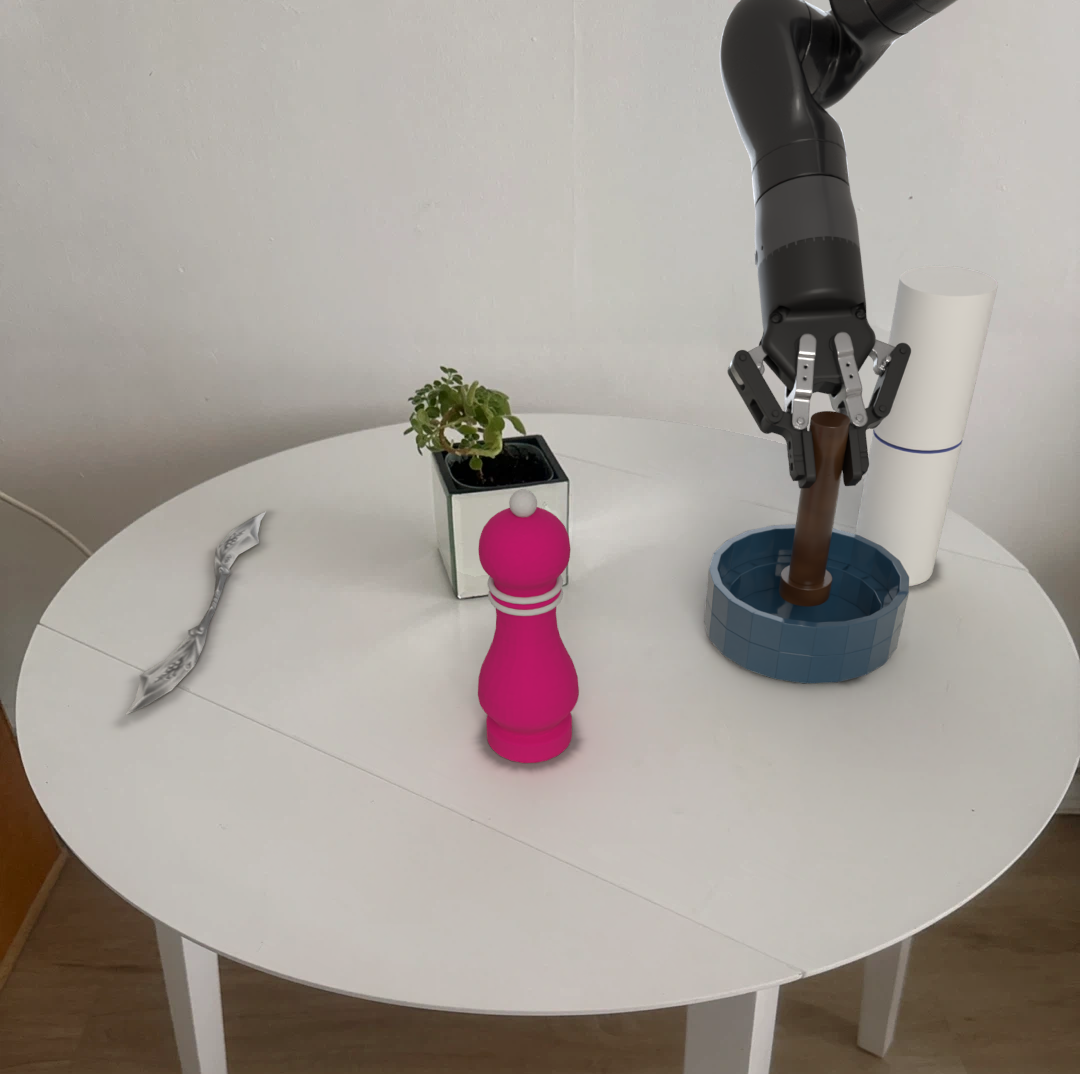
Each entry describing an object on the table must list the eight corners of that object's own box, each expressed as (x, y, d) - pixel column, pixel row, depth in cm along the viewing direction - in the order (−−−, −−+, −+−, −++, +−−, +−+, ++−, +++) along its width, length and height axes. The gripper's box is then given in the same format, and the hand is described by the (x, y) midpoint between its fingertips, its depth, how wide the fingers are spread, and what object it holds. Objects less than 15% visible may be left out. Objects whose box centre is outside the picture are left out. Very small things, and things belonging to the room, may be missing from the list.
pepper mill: (530, 694, 89) (524, 454, 77) (598, 736, 85) (604, 490, 73) (460, 737, 85) (441, 491, 73) (528, 782, 81) (521, 531, 69)
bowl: (897, 597, 99) (910, 536, 95) (892, 704, 88) (907, 639, 84) (718, 575, 102) (724, 515, 99) (690, 675, 91) (696, 611, 87)
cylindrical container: (852, 583, 101) (903, 294, 85) (848, 542, 107) (896, 263, 91) (936, 589, 100) (1004, 298, 84) (928, 548, 106) (991, 267, 90)
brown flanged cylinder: (831, 583, 94) (860, 410, 84) (827, 609, 91) (857, 433, 81) (781, 577, 95) (804, 405, 85) (776, 603, 92) (800, 427, 82)
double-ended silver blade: (120, 717, 88) (185, 718, 87) (118, 711, 87) (183, 712, 87) (223, 513, 113) (273, 513, 112) (222, 507, 112) (272, 507, 112)
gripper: (725, 236, 82) (748, 472, 80) (919, 228, 83) (945, 462, 81) (705, 287, 89) (725, 504, 88) (882, 279, 90) (906, 494, 88)
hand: (830, 482), depth 84 cm, fingers closed on brown flanged cylinder, 3 cm apart
